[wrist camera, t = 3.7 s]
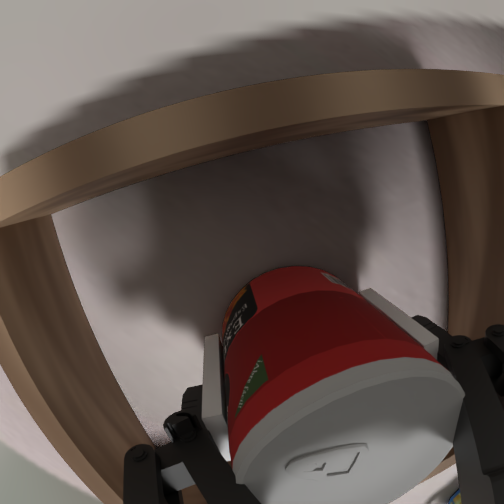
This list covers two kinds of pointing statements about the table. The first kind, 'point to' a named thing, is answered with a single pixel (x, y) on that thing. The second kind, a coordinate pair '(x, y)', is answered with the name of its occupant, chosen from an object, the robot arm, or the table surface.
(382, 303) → the robot arm
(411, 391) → the canned food
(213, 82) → the table surface
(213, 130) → the frame
